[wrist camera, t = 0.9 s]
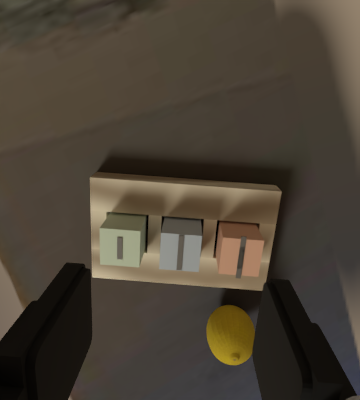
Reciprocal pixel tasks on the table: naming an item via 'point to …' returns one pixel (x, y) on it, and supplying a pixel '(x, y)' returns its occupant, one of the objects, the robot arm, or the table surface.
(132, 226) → the key sage
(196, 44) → the table surface
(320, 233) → the table surface
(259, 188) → the keypad board
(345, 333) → the table surface
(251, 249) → the key terracotta
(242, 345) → the lemon
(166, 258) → the key slate
